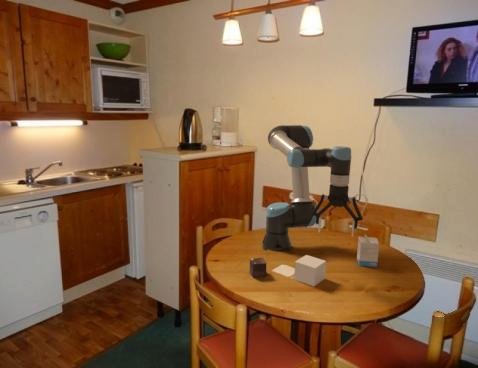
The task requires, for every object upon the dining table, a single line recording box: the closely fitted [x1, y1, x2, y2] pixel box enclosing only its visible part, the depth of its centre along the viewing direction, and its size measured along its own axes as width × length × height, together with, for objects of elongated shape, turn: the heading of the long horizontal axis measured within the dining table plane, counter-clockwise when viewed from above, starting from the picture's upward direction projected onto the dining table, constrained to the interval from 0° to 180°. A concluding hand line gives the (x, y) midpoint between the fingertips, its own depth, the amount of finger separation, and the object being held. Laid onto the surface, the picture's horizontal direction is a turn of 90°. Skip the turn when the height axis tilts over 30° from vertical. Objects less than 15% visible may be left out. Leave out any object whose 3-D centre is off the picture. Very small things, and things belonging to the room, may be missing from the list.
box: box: [249, 257, 267, 279], centre depth 149 cm, size 6×6×7 cm
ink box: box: [356, 233, 380, 268], centre depth 163 cm, size 9×8×13 cm
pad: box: [271, 264, 295, 278], centre depth 153 cm, size 9×9×1 cm
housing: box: [293, 254, 327, 287], centre depth 145 cm, size 9×9×8 cm
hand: (335, 233), depth 146 cm, fingers open, 13 cm apart
